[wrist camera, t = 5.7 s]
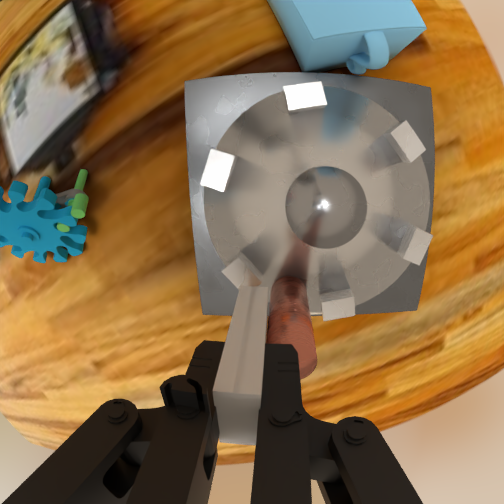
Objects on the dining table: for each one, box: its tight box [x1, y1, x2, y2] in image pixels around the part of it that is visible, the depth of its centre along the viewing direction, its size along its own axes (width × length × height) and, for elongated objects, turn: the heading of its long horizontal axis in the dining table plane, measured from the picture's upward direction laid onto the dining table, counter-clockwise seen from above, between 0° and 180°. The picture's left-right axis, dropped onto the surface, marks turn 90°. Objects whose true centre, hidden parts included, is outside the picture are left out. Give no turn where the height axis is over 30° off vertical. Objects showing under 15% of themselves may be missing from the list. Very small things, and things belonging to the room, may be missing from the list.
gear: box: [0, 169, 89, 263], centre depth 17 cm, size 11×6×10 cm
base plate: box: [185, 72, 435, 316], centre depth 17 cm, size 15×15×2 cm
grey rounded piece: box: [200, 81, 433, 379], centre depth 12 cm, size 12×12×8 cm
